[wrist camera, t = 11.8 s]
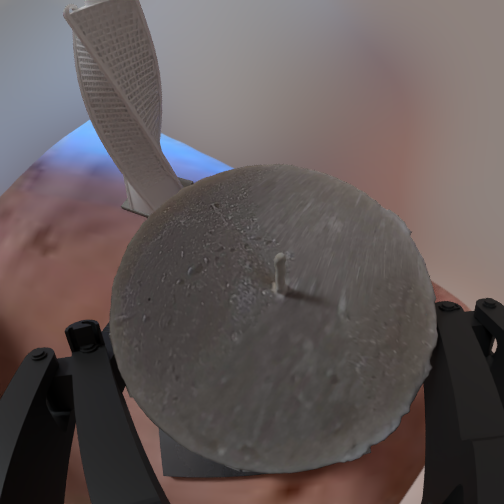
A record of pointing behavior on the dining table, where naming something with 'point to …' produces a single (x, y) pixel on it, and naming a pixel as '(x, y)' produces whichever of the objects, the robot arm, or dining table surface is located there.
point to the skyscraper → (124, 96)
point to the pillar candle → (273, 319)
